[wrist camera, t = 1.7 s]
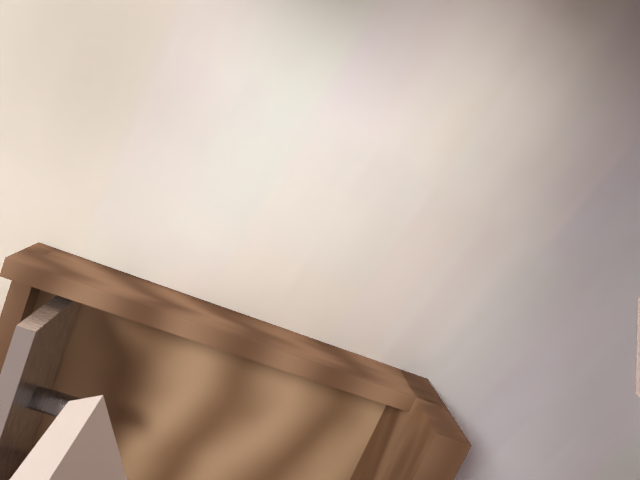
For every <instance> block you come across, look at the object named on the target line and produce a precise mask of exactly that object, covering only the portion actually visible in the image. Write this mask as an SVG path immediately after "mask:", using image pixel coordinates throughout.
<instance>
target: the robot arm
mask: <svg viewBox="0 0 640 480" xmlns="http://www.w3.org/2000/svg"><path fill="white" fill-rule="evenodd" d="M635 395H637V396H638V397H639V398H640V297H639V298H638V326H637V359H636V392H635ZM10 480H127V478H126V474H125V471H124V467H123V464H122V460H121V456H120V453H119V449H118V446H117V442H116V439H115V435H114V432H113V428H112V425H111V421H110V418H109V414H108V411H107V407H106V403H105V400H104V396H103V395H100V396H95V397H89V398H84V399H78V400H73V401H68V403H67V404H66V405H65V407H64V408H63V409H62V411H61V412H60V413H59V415H58V416H57V417H56V419H55V420H54V421H53V423H52V424H51V425H50V427H49V428H48V429H47V431H46V432H45V433H44V435H43V436H42V437H41V439H40V440H39V441H38V443H37V444H36V445H35V447H34V448H33V449H32V451H31V452H30V453H29V455H28V456H27V457H26V459H25V460H24V461H23V462H22V464H21V465H20V466H19V468H18V469H17V470H16V472H15V473H14V474H13V476H12V477H11V478H10Z"/></svg>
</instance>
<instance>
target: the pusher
mask: <svg viewBox="0 0 640 480" xmlns="http://www.w3.org/2000/svg"><path fill="white" fill-rule="evenodd" d="M80 305H81V303H79V302H76V301H73V300H70V299H67V298H64V297H61V296H58V295H56V296H55V297H54V298H52V299H51V300H50V301H48V302H47V303H46V304H44V305H43V306H42V307H40V308H39V309H38V310H36V311H35V312H34V313H32V314H31V315H30V316H28V317H27V318H26V319H24V320H23V321H22V322H20V323H19V324H18V325H16V328H15V331H14V334H13V337H12V340H11V343H10V346H9V349H8V352H7V355H6V358H5V362H4V365H3V368H2V371H1V374H0V480H8V479H9V477H10V476H11V475H12V473H13V472H14V471H15V469H16V468H17V467H18V465H19V464H20V463H21V461H22V460H23V459H24V457H25V456H26V455H27V454H28V452H29V451H30V449H31V446H32V443H33V440H34V437H35V434H36V431H37V428H38V426H39V423H40V420H41V417H42V414H43V413H45V414H49V415H52V416H56V417H57V416H58V415H59V413H60V412H61V411H62V409H63V408H64V407H65V405H66V404H67V403H68V401H73V400H78V399H82V398H79V397H75V396H72V395H68V394H65V393H62V392H58V391H55V390H51V388H52V386H53V383H54V380H55V377H56V374H57V371H58V368H59V366H60V363H61V360H62V357H63V354H64V351H65V348H66V346H67V343H68V340H69V337H70V334H71V331H72V328H73V325H74V323H75V320H76V317H77V314H78V311H79V308H80Z"/></svg>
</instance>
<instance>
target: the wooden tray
mask: <svg viewBox="0 0 640 480" xmlns="http://www.w3.org/2000/svg"><path fill="white" fill-rule="evenodd" d="M0 276H1V277H4V278H7V279H10V280H12V282H11V285H10V288H9V291H8V294H7V297H6V301H5V304H4V307H3V310H2V313H1V316H0V374H1V371H2V368H3V365H4V362H5V358H6V355H7V352H8V349H9V346H10V343H11V340H12V337H13V334H14V331H15V328H16V325H18V324H19V323H20V322H22V321H23V320H24V319H26V318H27V317H28V316H30V315H31V314H32V313H34V312H35V311H36V310H38V309H39V308H40V307H42V306H43V305H44V304H46V303H47V302H48V301H50V300H51V299H52V298H54V297H55V296H56V295H58V296H61V297H64V298H67V299H70V300H73V301H76V302H79V303H81V305H80V308H79V311H78V314H77V317H76V320H75V323H74V325H73V328H72V331H71V334H70V337H69V340H68V343H67V346H66V348H65V351H64V354H63V357H62V360H61V363H60V366H59V368H58V371H57V374H56V377H55V380H54V383H53V386H52V388H51V390H55V391H58V392H62V393H65V394H68V395H72V396H75V397H79V398H82V399H84V398H89V397H95V396H100V395H103V396H104V400H105V403H106V407H107V411H108V414H109V418H110V421H111V425H112V428H113V432H114V435H115V439H116V442H117V446H118V449H119V453H120V456H121V460H122V464H123V467H124V471H125V474H126V478H127V480H453V479H454V477H455V475H456V473H457V472H458V470H459V468H460V466H461V464H462V462H463V460H464V458H465V457H466V455H467V453H468V451H469V449H470V447H471V444H470V442H469V441H468V439H467V438H466V436H465V435H464V433H463V432H462V430H461V429H460V427H459V426H458V424H457V423H456V421H455V420H454V418H453V417H452V415H451V414H450V412H449V411H448V409H447V408H446V406H445V405H444V403H443V402H442V400H441V399H440V397H439V396H438V394H437V393H436V391H435V390H434V388H433V387H432V385H431V384H430V382H429V381H428V379H426V378H423V377H420V376H417V375H415V374H412V373H409V372H406V371H403V370H400V369H398V368H395V367H392V366H389V365H386V364H383V363H380V362H378V361H375V360H372V359H369V358H366V357H363V356H361V355H358V354H355V353H352V352H349V351H346V350H343V349H341V348H338V347H335V346H332V345H329V344H326V343H324V342H321V341H318V340H315V339H312V338H309V337H306V336H304V335H301V334H298V333H295V332H292V331H289V330H287V329H284V328H281V327H278V326H275V325H272V324H269V323H267V322H264V321H261V320H258V319H255V318H252V317H249V316H247V315H244V314H241V313H238V312H235V311H232V310H230V309H227V308H224V307H221V306H218V305H215V304H212V303H210V302H207V301H204V300H201V299H198V298H195V297H193V296H190V295H187V294H184V293H181V292H178V291H175V290H173V289H170V288H167V287H164V286H161V285H158V284H156V283H153V282H150V281H147V280H144V279H141V278H138V277H136V276H133V275H130V274H127V273H124V272H121V271H119V270H116V269H113V268H110V267H107V266H104V265H101V264H99V263H96V262H93V261H90V260H87V259H84V258H82V257H79V256H76V255H73V254H70V253H67V252H64V251H62V250H59V249H56V248H53V247H50V246H47V245H45V244H42V243H37V244H34V245H32V246H30V247H28V248H26V249H23V250H21V251H19V252H17V253H15V254H13V255H10V256H8V257H6V258H5V260H4V264H3V267H2V270H1V273H0ZM55 419H56V416H52V415H49V414H45V413H43V414H42V417H41V420H40V423H39V426H38V428H37V431H36V434H35V437H34V440H33V443H32V446H31V449H30V451H29V452H28V454H27V455H26V456H25V457H24V459H23V460H22V461H21V463H20V464H19V465H18V467H17V468H16V469H15V471H14V472H13V473H12V475H11V476H10V477H9V479H8V480H10V478H11V477H12V476H13V474H14V473H15V472H16V470H17V469H18V468H19V466H20V465H21V464H22V462H23V461H24V460H25V459H26V457H27V456H28V455H29V453H30V452H31V451H32V449H33V448H34V447H35V445H36V444H37V443H38V441H39V440H40V439H41V437H42V436H43V435H44V433H45V432H46V431H47V429H48V428H49V427H50V425H51V424H52V423H53V421H54V420H55Z"/></svg>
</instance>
